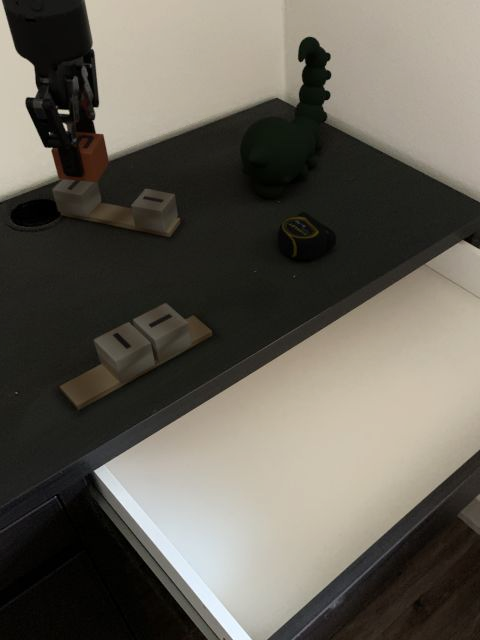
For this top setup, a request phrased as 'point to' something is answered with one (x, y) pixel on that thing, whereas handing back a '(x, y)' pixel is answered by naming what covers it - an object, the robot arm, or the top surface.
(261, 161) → the toy figurine
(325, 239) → the tape measure
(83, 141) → the orange block
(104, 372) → the word
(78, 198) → the word
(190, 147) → the top surface
